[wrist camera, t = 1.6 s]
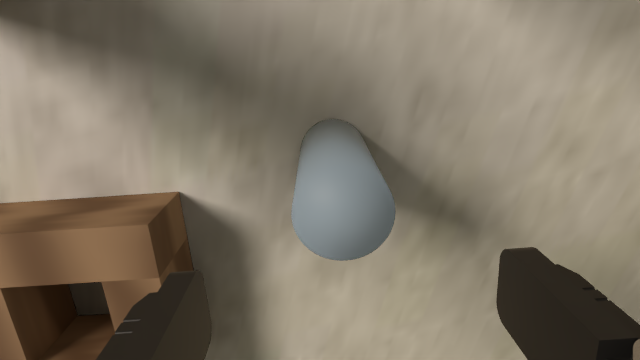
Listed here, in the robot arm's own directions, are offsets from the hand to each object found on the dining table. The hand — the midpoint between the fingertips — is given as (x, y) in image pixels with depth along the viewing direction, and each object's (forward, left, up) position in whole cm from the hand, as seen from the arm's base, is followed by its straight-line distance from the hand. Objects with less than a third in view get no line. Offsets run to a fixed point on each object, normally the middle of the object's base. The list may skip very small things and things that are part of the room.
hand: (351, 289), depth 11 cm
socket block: (+16, +8, -15) cm, 23 cm away
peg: (0, 0, -15) cm, 15 cm away
